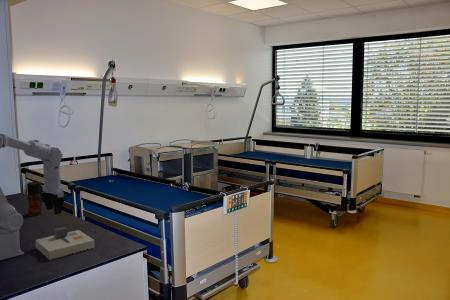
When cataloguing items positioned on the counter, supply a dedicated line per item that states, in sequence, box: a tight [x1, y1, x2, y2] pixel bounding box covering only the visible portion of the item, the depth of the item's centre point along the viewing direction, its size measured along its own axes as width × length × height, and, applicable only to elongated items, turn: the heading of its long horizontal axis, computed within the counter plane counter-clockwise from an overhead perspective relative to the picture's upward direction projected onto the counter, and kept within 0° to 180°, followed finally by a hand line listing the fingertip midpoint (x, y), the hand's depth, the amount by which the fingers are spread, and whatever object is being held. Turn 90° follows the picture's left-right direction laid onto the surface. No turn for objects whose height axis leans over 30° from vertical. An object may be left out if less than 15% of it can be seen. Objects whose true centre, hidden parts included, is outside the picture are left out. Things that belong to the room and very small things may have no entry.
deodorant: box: [26, 181, 43, 217], centre depth 176 cm, size 6×6×15 cm
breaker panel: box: [35, 229, 95, 261], centre depth 138 cm, size 16×14×3 cm
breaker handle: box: [53, 226, 68, 239], centre depth 141 cm, size 4×2×3 cm, turn 134°
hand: (53, 211), depth 147 cm, fingers open, 7 cm apart
